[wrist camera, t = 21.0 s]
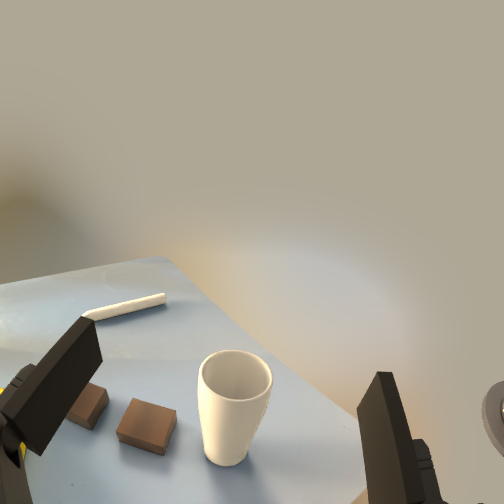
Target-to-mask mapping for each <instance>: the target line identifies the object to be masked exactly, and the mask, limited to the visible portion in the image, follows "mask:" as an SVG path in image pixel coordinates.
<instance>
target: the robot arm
mask: <svg viewBox="0 0 504 504" xmlns="http://www.w3.org/2000/svg"><path fill="white" fill-rule="evenodd" d="M102 362H103V360H102V355H101V351H100V347H99V342H98V338H97V333H96V328H95V323H94V320H93V319H90V318H87V317H84V316H81V317H80V318H79V319H78V320H77V321H76V322H75V323H74V324H73V325H72V326H71V327H70V328H69V329H68V330H67V332H66V333H65V334H64V335H63V336H62V337H61V338H60V339H59V340H58V341H57V343H56V344H55V345H54V346H53V347H52V348H51V349H50V350H49V352H48V353H47V354H46V355H45V356H44V357H43V358H42V360H41V361H40V362H39V363H38V364H37V365H36V366H35V365H33V364H29V365H27V366H25V367H24V368H22V369H21V370H20V371H19V372H18V374H17V375H16V376H15V378H13V379H12V381H11V382H10V384H8V385H7V387H6V388H5V389H4V390H3V391H2V393H1V394H0V504H33V502H32V498H31V494H30V490H29V486H28V482H27V477H26V472H25V467H24V461H23V455H22V450H21V447H20V444H21V443H22V442H23V443H24V444H25V446H26V447H27V448H28V449H29V450H31V451H32V452H34V453H36V454H37V455H39V456H41V455H42V454H43V452H44V450H45V449H46V447H47V445H48V444H49V442H50V441H51V439H52V437H53V436H54V434H55V433H56V431H57V429H58V428H59V426H60V425H61V423H62V421H63V420H64V418H65V417H66V415H67V414H68V412H69V411H70V409H71V408H72V406H73V405H74V403H75V401H76V400H77V398H78V397H79V395H80V394H81V392H82V391H83V389H84V388H85V387H86V385H87V384H88V382H89V381H90V379H91V378H92V376H93V375H94V373H95V372H96V370H97V369H98V368H99V366H100V365H101V363H102ZM357 415H358V421H359V427H360V434H361V441H362V448H363V456H364V464H365V472H366V481H367V489H368V500H369V504H448V503H447V502H445V501H443V500H442V498H441V495H440V490H439V486H438V482H437V478H436V474H435V470H434V468H433V467H434V466H433V463H432V460H431V455H430V451H429V448H428V446H427V445H426V444H425V442H424V441H423V440H422V439H414V440H412V437H411V434H410V430H409V426H408V423H407V419H406V416H405V412H404V409H403V406H402V402H401V399H400V396H399V392H398V389H397V386H396V383H395V380H394V377H393V374H392V372H377V373H376V375H375V377H374V379H373V381H372V383H371V384H370V386H369V388H368V390H367V392H366V394H365V395H364V397H363V399H362V400H361V403H360V404H359V406H358V407H357ZM500 415H501V419H502V422H503V424H504V398H503V399H502V401H501V404H500ZM479 504H483V503H479Z"/></svg>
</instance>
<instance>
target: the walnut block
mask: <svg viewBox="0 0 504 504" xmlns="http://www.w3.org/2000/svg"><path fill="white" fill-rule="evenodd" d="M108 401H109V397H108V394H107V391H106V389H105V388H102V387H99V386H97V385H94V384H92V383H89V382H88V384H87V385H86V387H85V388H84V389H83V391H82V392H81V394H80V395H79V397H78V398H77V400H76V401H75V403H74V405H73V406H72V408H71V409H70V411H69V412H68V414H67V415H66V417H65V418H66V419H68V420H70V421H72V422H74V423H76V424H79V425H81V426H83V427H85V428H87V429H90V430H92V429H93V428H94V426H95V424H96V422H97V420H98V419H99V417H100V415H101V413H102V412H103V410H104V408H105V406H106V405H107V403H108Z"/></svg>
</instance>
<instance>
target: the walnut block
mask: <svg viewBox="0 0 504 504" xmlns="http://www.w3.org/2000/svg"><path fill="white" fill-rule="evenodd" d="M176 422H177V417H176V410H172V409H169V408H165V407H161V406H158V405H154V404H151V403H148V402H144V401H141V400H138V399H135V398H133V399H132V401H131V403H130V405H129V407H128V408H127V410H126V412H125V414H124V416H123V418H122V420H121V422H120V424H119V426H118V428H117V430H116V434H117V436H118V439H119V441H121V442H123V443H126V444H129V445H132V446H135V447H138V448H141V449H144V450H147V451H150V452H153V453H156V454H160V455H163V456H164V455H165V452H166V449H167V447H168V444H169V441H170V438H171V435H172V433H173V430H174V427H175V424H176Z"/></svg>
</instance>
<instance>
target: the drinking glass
mask: <svg viewBox="0 0 504 504" xmlns="http://www.w3.org/2000/svg"><path fill="white" fill-rule="evenodd" d="M272 384H273V374H272V371H271V369H270V368H269V366H268V365H267V364H266V363H265V362H264V361H263V360H262V359H261V358H259V357H257V356H256V355H253V354H251V353H248V352H244V351H239V350H226V351H221V352H217V353H215V354H213V355H211V356H209V357H208V358H207V359H206V360H205V361H204V362H203V363H202V365H201V367H200V370H199V379H198V407H199V415H200V421H201V428H202V435H203V448H204V453H205V455H206V456H207V458H208V459H209V460H210V461H212V462H213V463H215V464H217V465H220V466H233V465H236V464H238V463H240V462H241V461H242V460H243V459H244V458H245V456H246V454H247V451H248V448H249V446H250V444H251V442H252V439H253V437H254V435H255V433H256V431H257V429H258V427H259V425H260V423H261V421H262V418H263V416H264V414H265V411H266V408H267V405H268V402H269V398H270V394H271V389H272Z"/></svg>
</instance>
